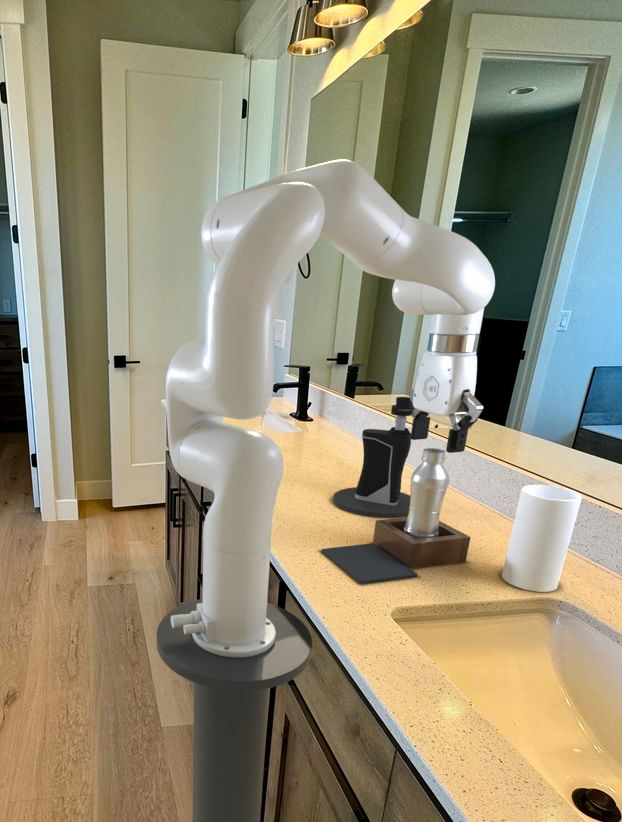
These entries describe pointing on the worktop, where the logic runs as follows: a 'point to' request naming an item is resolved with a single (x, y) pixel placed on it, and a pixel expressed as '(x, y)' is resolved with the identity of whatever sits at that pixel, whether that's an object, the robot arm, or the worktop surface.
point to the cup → (540, 537)
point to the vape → (381, 470)
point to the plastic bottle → (427, 495)
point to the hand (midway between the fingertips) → (436, 445)
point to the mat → (368, 563)
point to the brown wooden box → (421, 544)
